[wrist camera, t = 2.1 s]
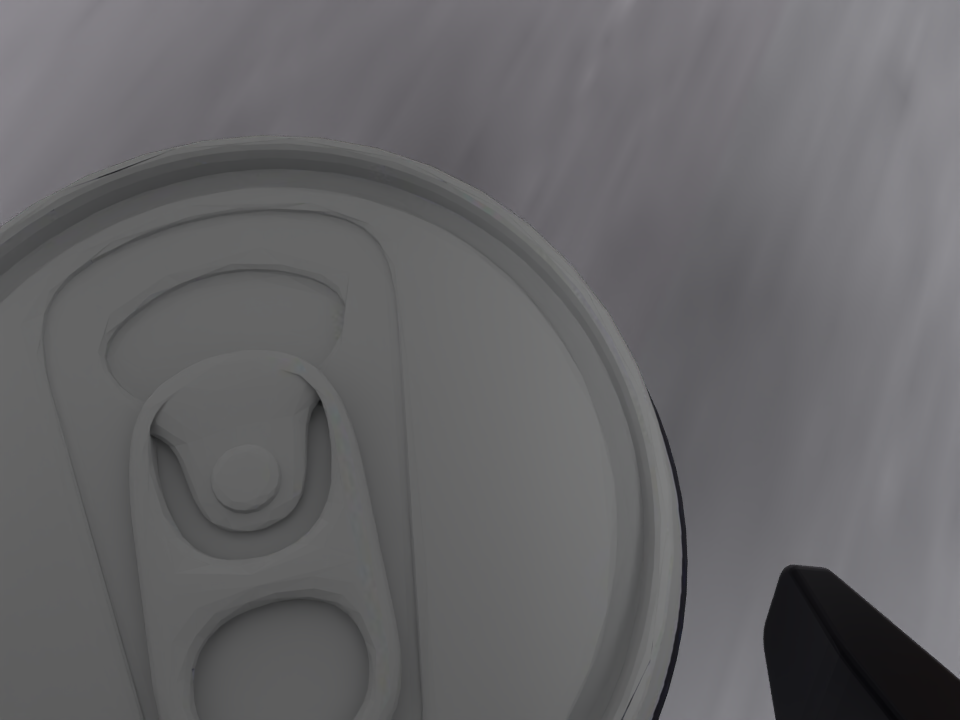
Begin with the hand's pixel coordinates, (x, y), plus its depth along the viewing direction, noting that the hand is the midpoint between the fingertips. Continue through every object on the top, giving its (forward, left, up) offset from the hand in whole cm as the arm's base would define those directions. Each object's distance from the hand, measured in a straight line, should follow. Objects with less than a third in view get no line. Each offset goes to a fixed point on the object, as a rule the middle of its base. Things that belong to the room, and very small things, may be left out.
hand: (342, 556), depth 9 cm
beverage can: (0, 0, -8) cm, 8 cm away
